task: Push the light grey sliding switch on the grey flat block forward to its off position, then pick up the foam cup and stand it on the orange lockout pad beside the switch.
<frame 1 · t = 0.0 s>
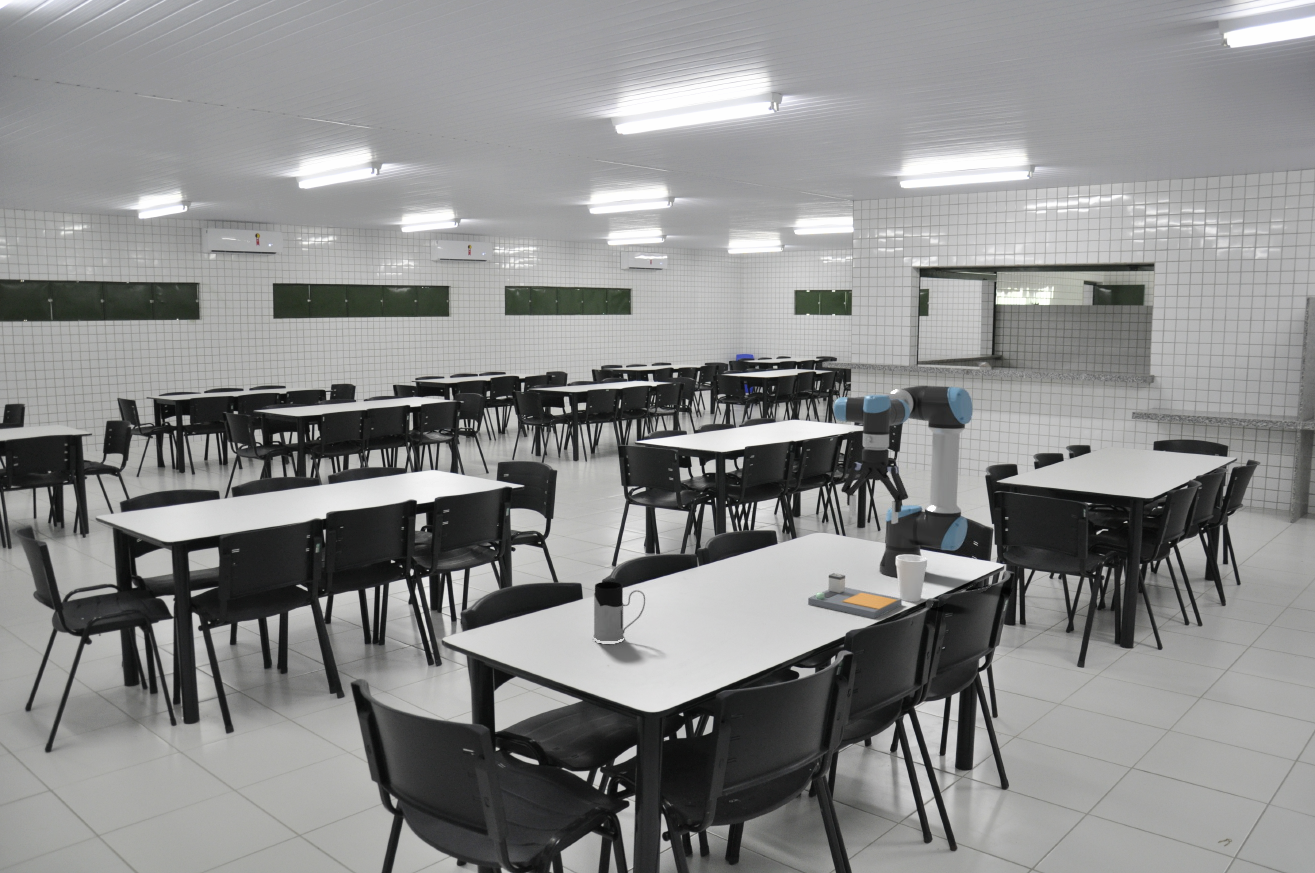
hand: (873, 519, 283), 28 cm above the table, tool pointing down, fingers open, 13 cm apart
glass holder: (618, 640, 261), on the table
foam cup: (909, 599, 301), on the table
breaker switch: (836, 582, 301), point 5 cm above the table, slide at 0.0 cm
grey flat block: (854, 604, 294), on the table
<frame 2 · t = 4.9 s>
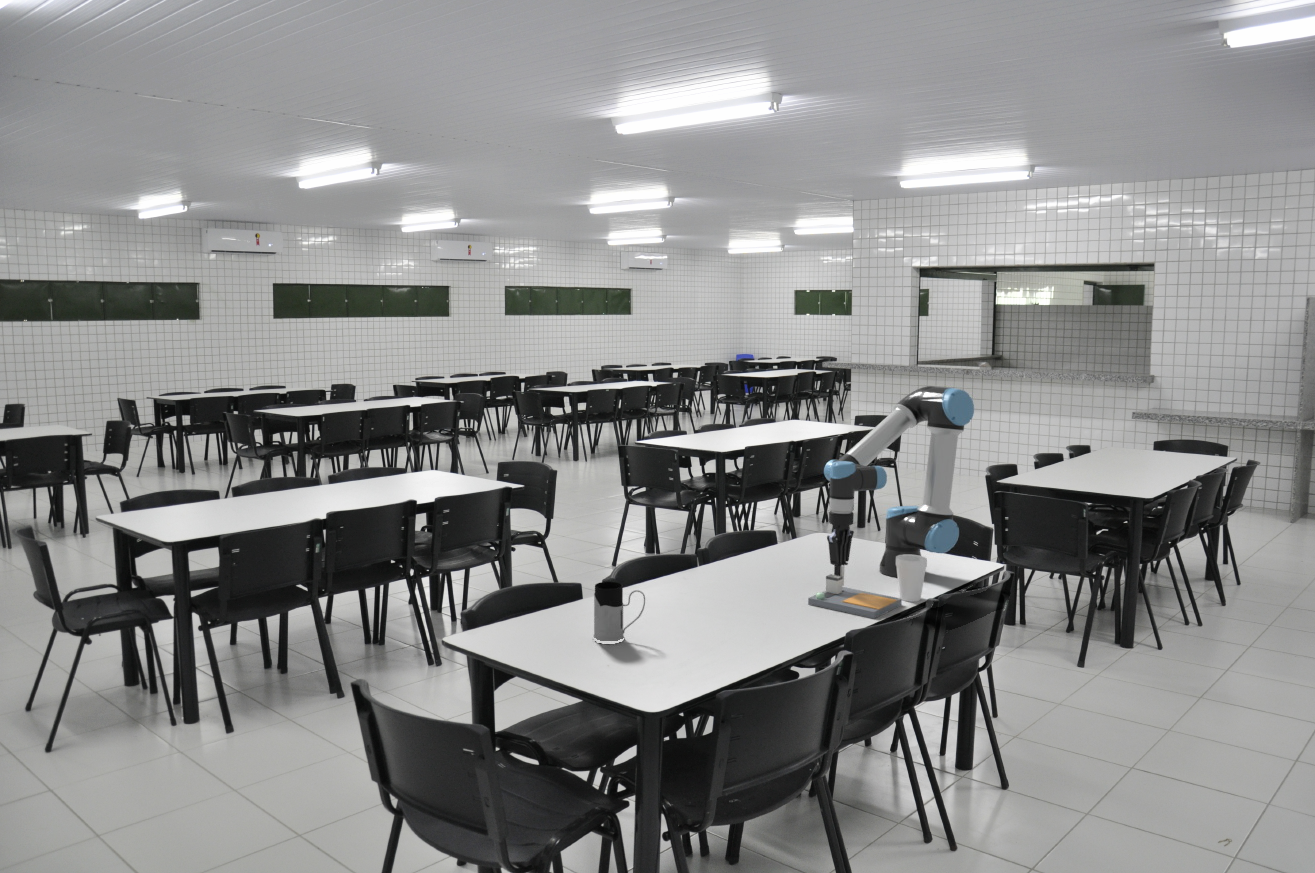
hand: (838, 585, 303), 4 cm above the table, tool pointing down, fingers closed
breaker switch: (834, 584, 300), point 5 cm above the table, slide at 1.7 cm, touching gripper
everything else where it was.
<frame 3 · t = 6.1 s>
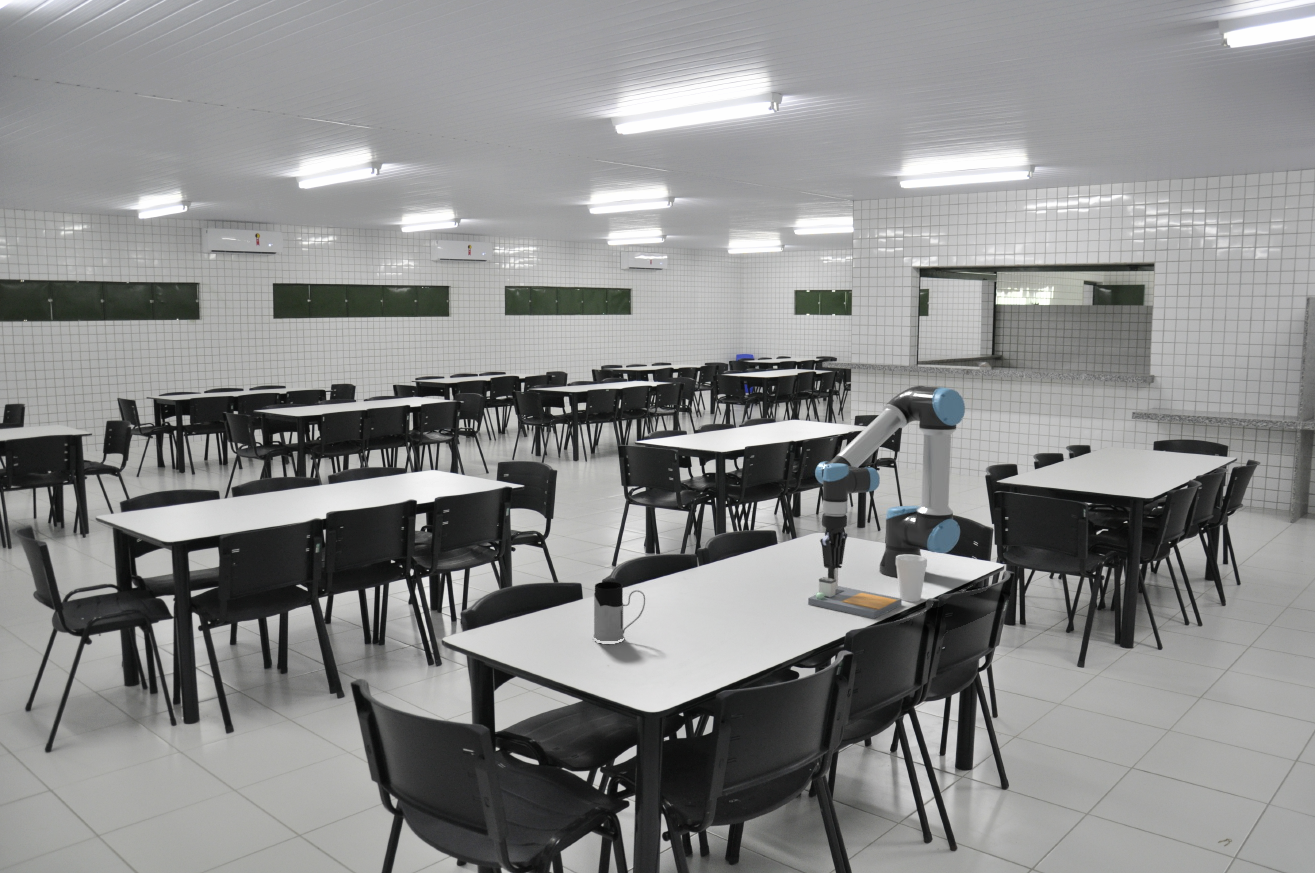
hand: (832, 588, 300), 3 cm above the table, tool pointing down, fingers closed
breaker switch: (827, 586, 297), point 5 cm above the table, slide at 5.9 cm, touching gripper
everything else where it was.
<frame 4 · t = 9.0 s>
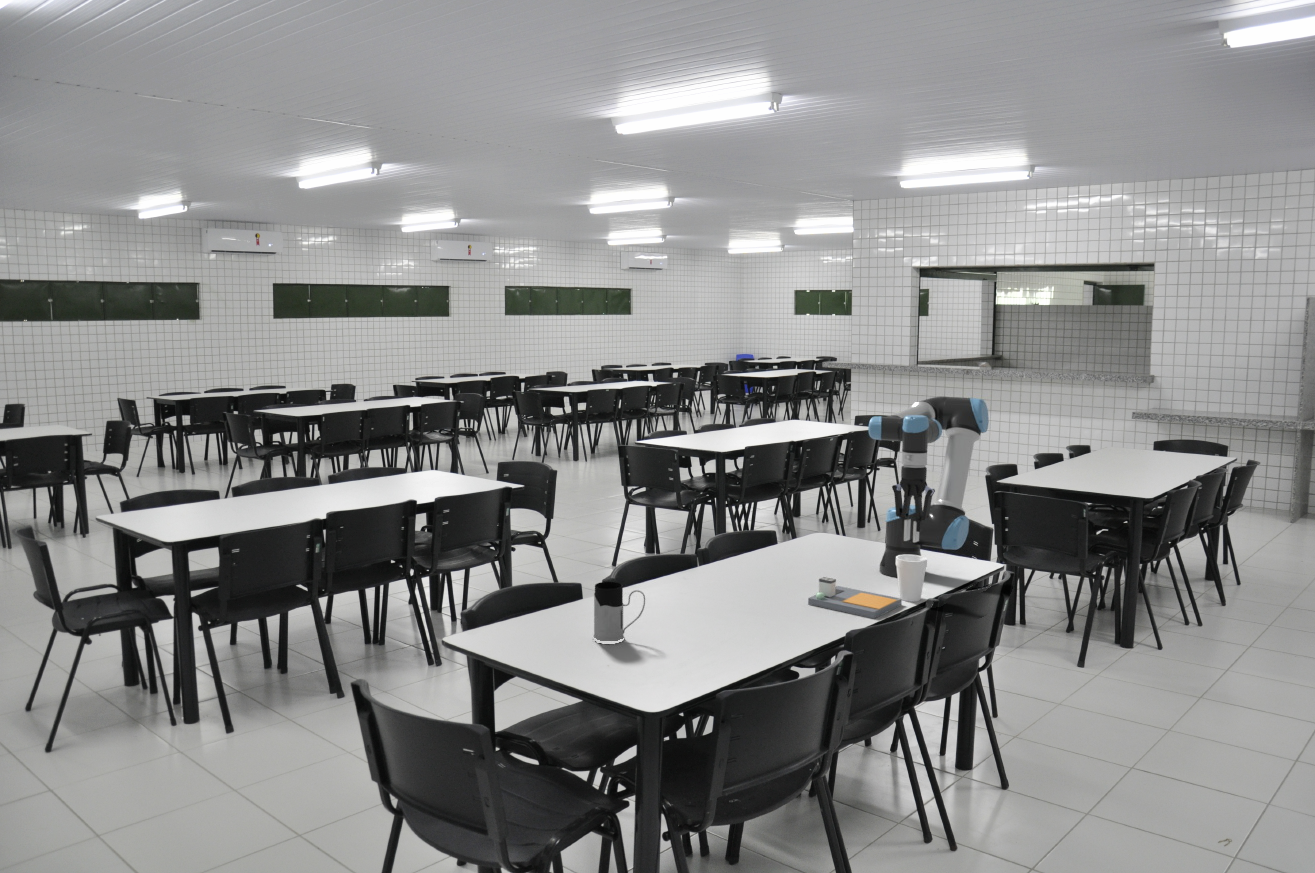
hand: (911, 540, 299), 18 cm above the table, tool pointing down, fingers open, 2 cm apart
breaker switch: (827, 586, 297), point 5 cm above the table, slide at 5.9 cm
everything else where it was.
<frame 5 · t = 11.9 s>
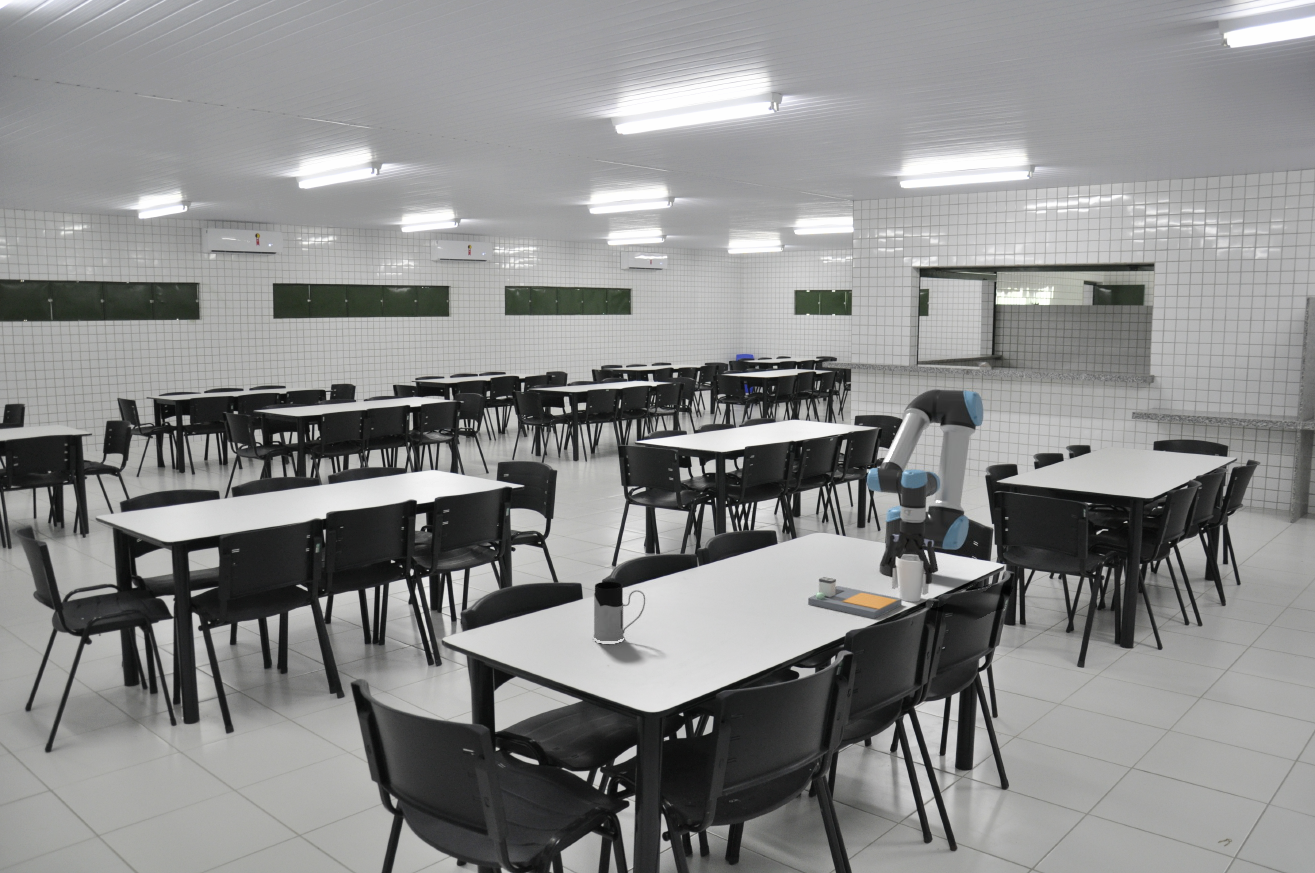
hand: (910, 590, 301), 3 cm above the table, tool pointing down, fingers closed on foam cup, 9 cm apart
foam cup: (909, 599, 301), on the table, touching gripper
everything else where it was.
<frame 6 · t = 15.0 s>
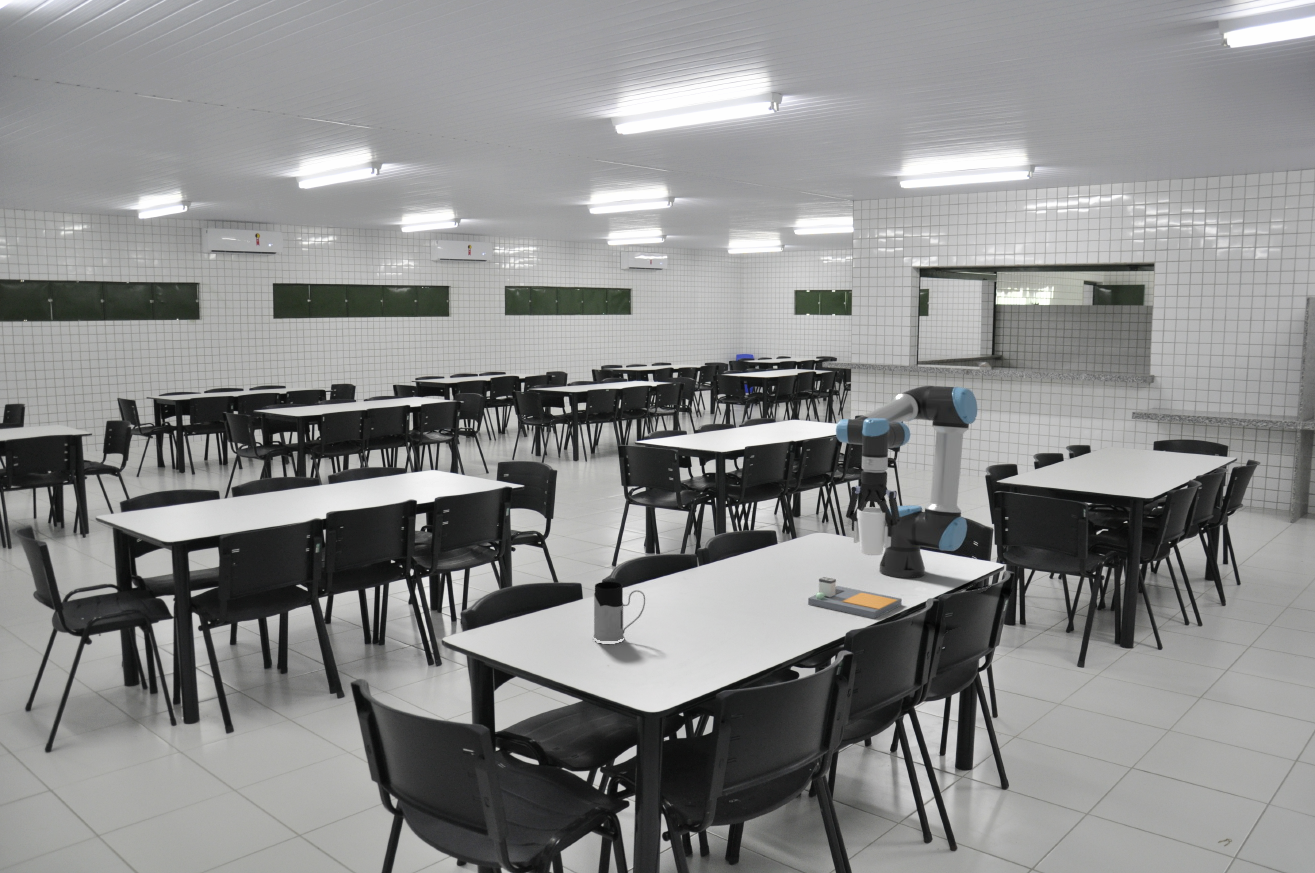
hand: (871, 544, 289), 20 cm above the table, tool pointing down, fingers closed on foam cup, 9 cm apart
foam cup: (871, 553, 289), point 17 cm above the table, touching gripper
everything else where it was.
when the fingers open (6 cm above the table, at t = 18.0 s): foam cup drops 1 cm, resting on grey flat block.
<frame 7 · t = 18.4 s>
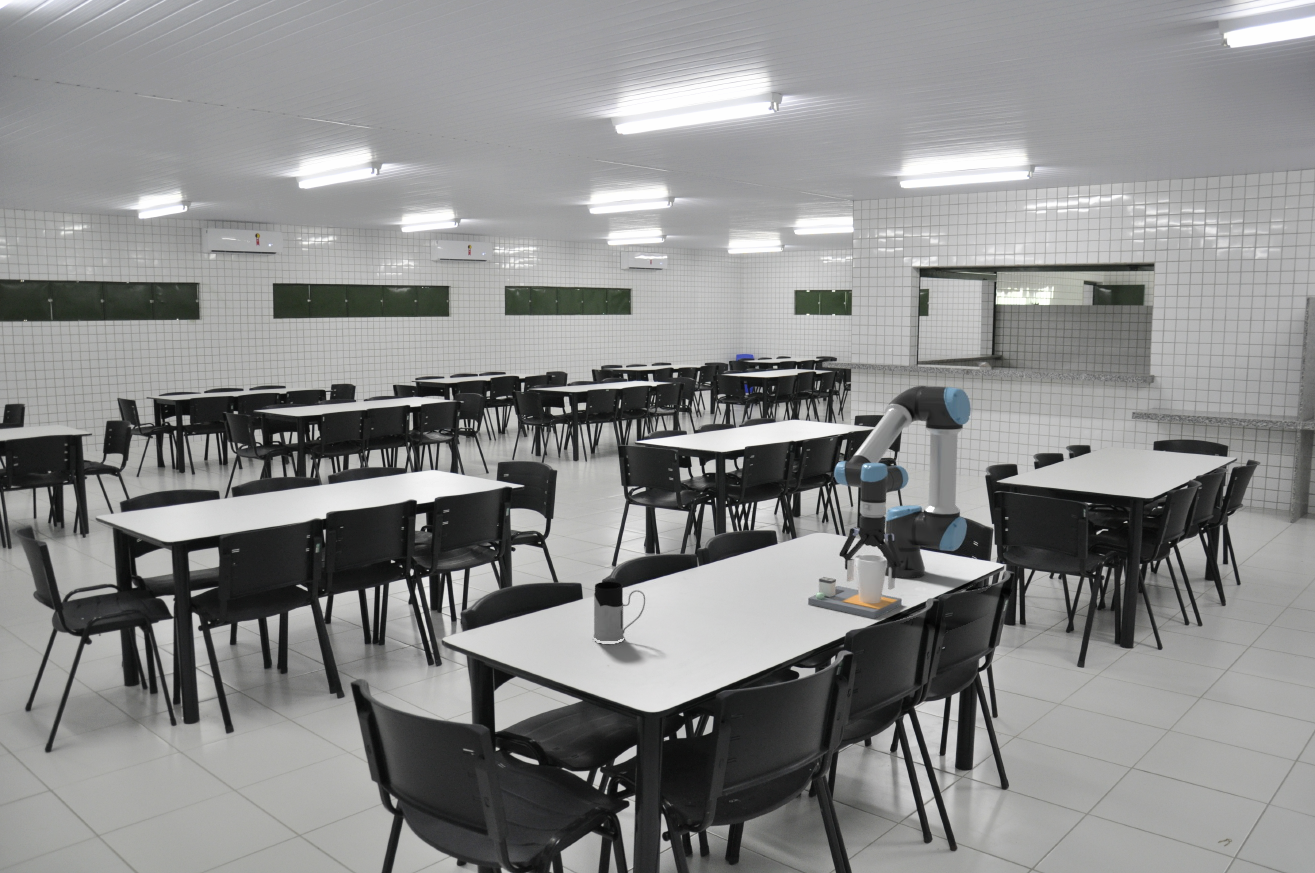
hand: (870, 584, 290), 7 cm above the table, tool pointing down, fingers open, 13 cm apart
foam cup: (869, 600, 291), point 2 cm above the table, touching grey flat block
everything else where it was.
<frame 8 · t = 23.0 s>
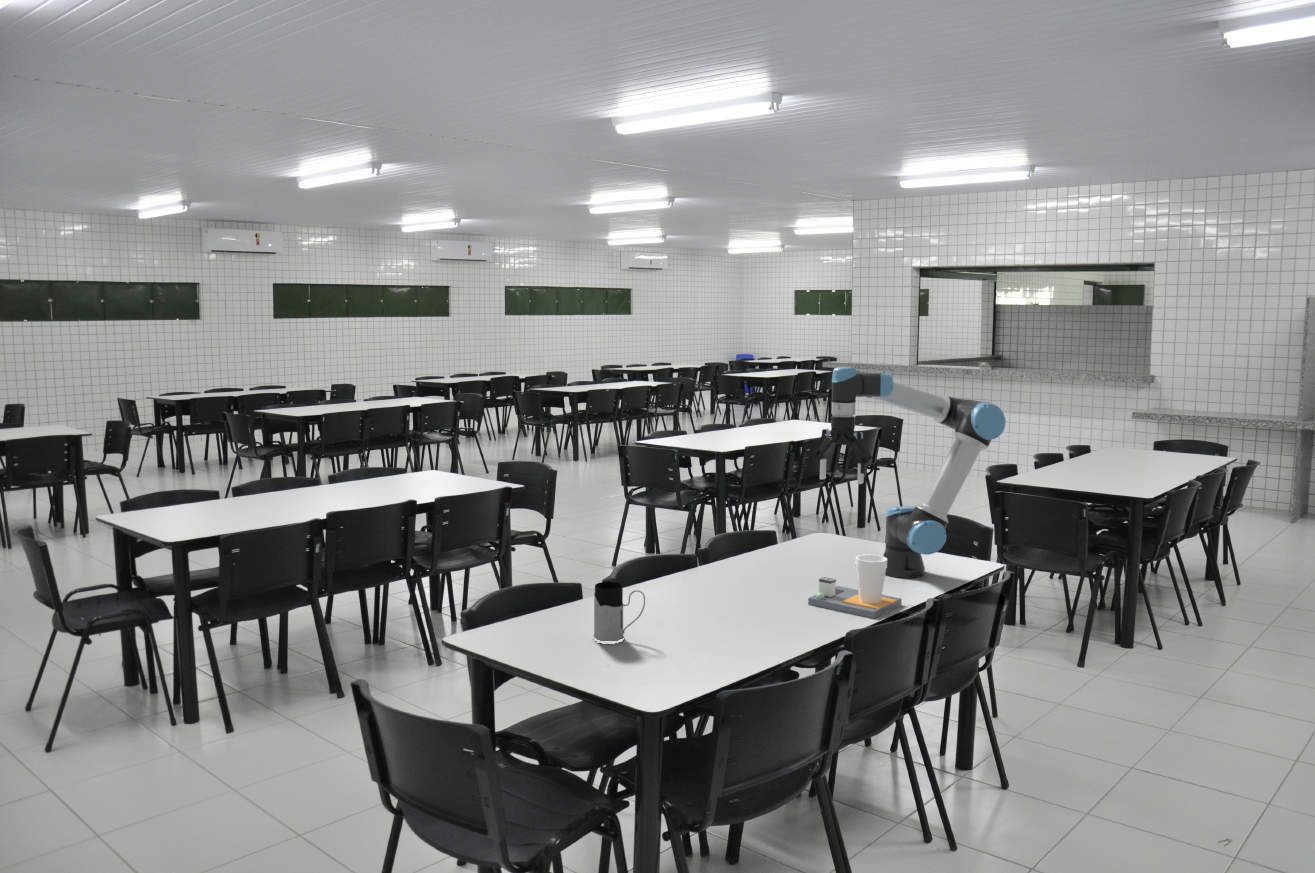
hand: (841, 481, 311), 35 cm above the table, tool pointing down, fingers open, 13 cm apart
nothing on the table moved.
at the end: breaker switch slide at 5.9 cm; foam cup inside the target area (0.0 cm from its centre), point 2.1 cm above the table; foam cup tilted 0° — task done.
